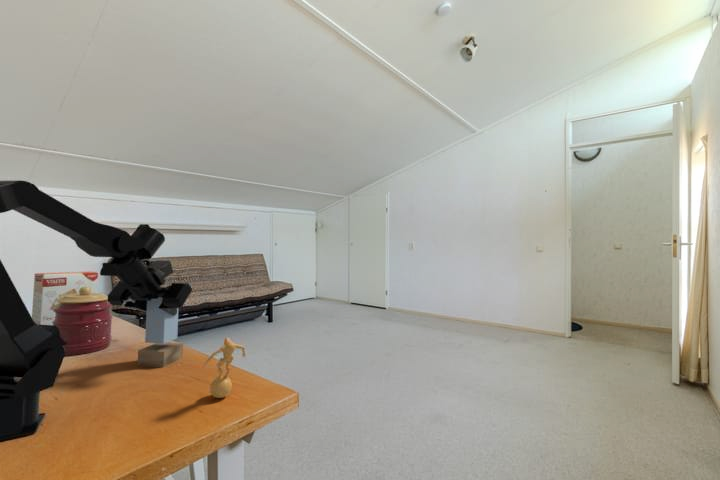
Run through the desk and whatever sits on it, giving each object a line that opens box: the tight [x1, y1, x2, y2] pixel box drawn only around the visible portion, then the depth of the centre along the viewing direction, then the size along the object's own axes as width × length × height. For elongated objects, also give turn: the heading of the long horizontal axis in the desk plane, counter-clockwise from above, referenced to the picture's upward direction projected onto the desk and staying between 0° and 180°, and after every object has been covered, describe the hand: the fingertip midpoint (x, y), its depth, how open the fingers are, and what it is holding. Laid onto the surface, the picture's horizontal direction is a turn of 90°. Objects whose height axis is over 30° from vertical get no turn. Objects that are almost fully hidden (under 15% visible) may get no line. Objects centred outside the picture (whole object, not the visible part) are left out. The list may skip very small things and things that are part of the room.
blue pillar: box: [144, 297, 179, 344], centre depth 82 cm, size 5×5×12 cm
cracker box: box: [31, 270, 99, 325], centre depth 100 cm, size 14×6×21 cm, turn 155°
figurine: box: [203, 337, 246, 399], centre depth 63 cm, size 8×6×12 cm
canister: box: [52, 287, 114, 356], centre depth 91 cm, size 13×13×18 cm
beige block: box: [137, 342, 184, 368], centre depth 82 cm, size 7×7×4 cm
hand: (166, 313), depth 84 cm, fingers closed on blue pillar, 5 cm apart
